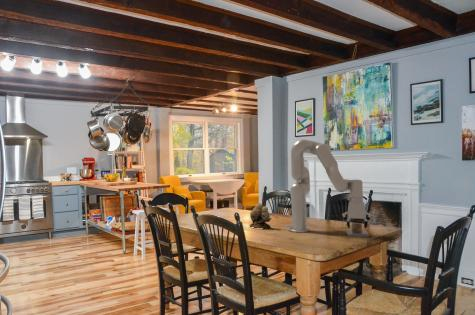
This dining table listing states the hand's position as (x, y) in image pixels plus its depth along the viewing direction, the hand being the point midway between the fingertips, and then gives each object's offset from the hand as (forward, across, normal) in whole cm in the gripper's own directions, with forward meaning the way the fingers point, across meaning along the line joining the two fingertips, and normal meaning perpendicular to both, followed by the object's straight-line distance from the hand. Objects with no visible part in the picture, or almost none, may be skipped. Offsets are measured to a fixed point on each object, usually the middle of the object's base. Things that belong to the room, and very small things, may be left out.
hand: (356, 227), depth 229 cm
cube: (+3, 0, 0) cm, 3 cm away
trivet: (+4, 0, 0) cm, 4 cm away
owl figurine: (+5, -62, +21) cm, 66 cm away
